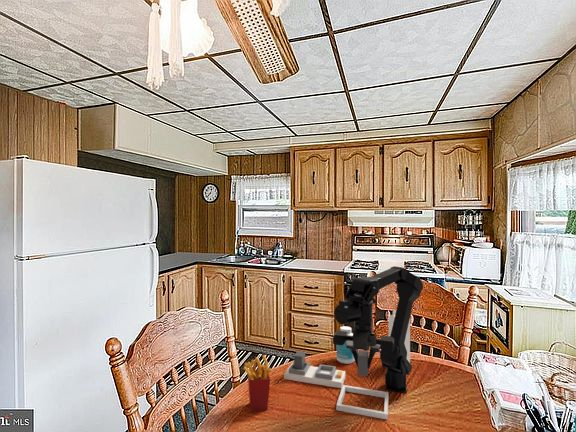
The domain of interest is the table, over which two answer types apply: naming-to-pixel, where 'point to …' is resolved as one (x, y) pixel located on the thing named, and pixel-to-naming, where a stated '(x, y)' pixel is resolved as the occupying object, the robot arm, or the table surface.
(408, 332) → the milk
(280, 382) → the table surface
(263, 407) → the french fries
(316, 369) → the power strip
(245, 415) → the table surface
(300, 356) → the plug
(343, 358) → the pill bottle
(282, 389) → the table surface
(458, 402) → the table surface
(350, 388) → the white square frame
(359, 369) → the plug
